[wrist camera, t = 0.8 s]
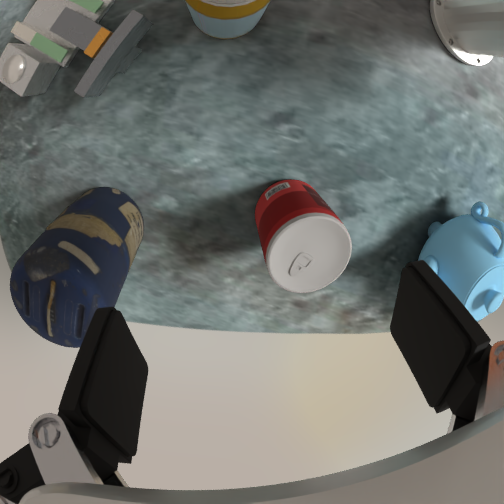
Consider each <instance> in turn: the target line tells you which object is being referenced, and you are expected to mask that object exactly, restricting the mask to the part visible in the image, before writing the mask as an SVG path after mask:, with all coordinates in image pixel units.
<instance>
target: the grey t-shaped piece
mask: <svg viewBox="0 0 504 504" xmlns="http://www.w3.org/2000/svg"><path fill="white" fill-rule="evenodd" d="M152 26H153V23H151V22H150V21H149V20H148V19H147V18H146V17H145V16H144V15H142V14H140V13H138V12H137V11H135V10H132V11H131V12H130V13H129V14H128V16H127V17H126V18H125V19H124V20H123V22H122V23H121V24H120V25H119V27H118V28H117V29H116V30H115V32H112V31H110V30H109V29H107V28H105V27H104V26H102V25H100V24H98V23H97V22H95V21H93V20H91V19H89V18H88V17H86V16H84V15H82V14H80V13H78V12H76V11H74V10H73V9H70V8H68V7H65V8H64V10H63V11H62V12H61V14H60V15H59V17H58V18H57V19H56V21H55V22H54V24H53V25H52V27H51V28H50V31H51V32H53V33H55V34H57V35H58V36H60V37H62V38H64V39H65V40H67V41H69V42H70V43H72V44H74V45H75V46H77V47H79V48H80V49H82V50H84V53H85V54H87V55H88V56H90V57H92V58H95V59H94V60H93V62H92V63H91V65H90V66H89V68H88V69H87V71H86V72H85V74H84V75H83V77H82V79H81V80H80V82H79V83H78V85H77V87H76V88H75V90H74V92H75V93H77V94H78V95H80V96H81V97H83V98H85V97H93V96H100V95H101V93H102V92H103V90H104V89H105V87H106V86H107V84H108V83H109V81H110V80H111V78H112V77H113V76H114V74H115V73H116V72H117V73H125V72H126V70H127V69H128V68H129V66H130V65H131V64H132V62H133V61H134V60H135V58H136V57H137V56H138V54H139V53H140V52H141V51H142V50H141V49H140V48H138V47H137V46H136V45H137V44H138V42H139V41H140V40H141V39H142V37H143V36H144V35H145V34H146V33H147V31H148V30H149V29H150V28H151V27H152Z"/></svg>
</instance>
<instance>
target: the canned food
mask: <svg viewBox="0 0 504 504" xmlns="http://www.w3.org/2000/svg"><path fill="white" fill-rule="evenodd" d="M255 221H256V225H257V229H258V233H259V238H260V242H261V246H262V250H263V255H264V259H265V262H266V266H267V269H268V272H269V274H270V276H271V278H272V279H273V281H274V282H275V283H276V284H277V285H278V286H280V287H281V288H283V289H285V290H288V291H290V292H296V293H307V292H313V291H316V290H319V289H321V288H324V287H326V286H327V285H329V284H330V283H332V282H333V281H335V280H336V279H337V278H338V277H339V276H340V275H341V273H342V272H343V271H344V270H345V268H346V266H347V264H348V262H349V259H350V256H351V250H352V244H351V238H350V235H349V233H348V231H347V229H346V228H345V226H344V225H343V223H342V222H341V221H340V219H339V218H338V217H337V216H336V214H335V213H334V212H333V211H332V210H331V208H330V207H329V206H328V205H327V204H326V203H325V201H324V200H323V199H322V198H321V197H320V196H319V194H318V193H317V192H316V191H315V190H314V189H313V188H312V187H311V186H310V185H308V184H307V183H305V182H302V181H299V180H291V179H290V180H282V181H279V182H276V183H274V184H273V185H271V186H270V187H268V188H267V189H266V190H265V191H264V192H263V193H262V195H261V197H260V198H259V200H258V202H257V205H256V209H255Z"/></svg>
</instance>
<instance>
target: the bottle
mask: <svg viewBox="0 0 504 504" xmlns="http://www.w3.org/2000/svg"><path fill="white" fill-rule="evenodd" d="M270 1H271V0H185V2H186V4H187V7H188V9H189V11H190V14H191V16H192V18H193V21H194V23H195V24H196V26H197V27H198V28H199V29H200V30H201V31H202V32H203V33H205V34H207V35H209V36H211V37H214V38H219V39H233V38H237V37H240V36H243V35H245V34H246V33H248V32H249V31H251V30H252V29H253V28H254V27H255V26H256V24H257V23H258V22H259V20H260V18H261V17H262V15H263V13H264V11H265V10H266V8H267V6H268V4H269V3H270Z"/></svg>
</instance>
